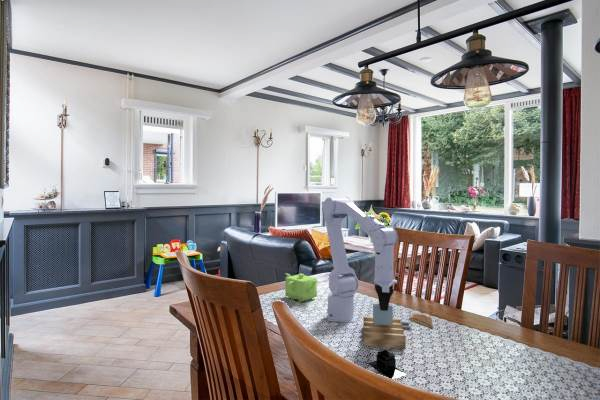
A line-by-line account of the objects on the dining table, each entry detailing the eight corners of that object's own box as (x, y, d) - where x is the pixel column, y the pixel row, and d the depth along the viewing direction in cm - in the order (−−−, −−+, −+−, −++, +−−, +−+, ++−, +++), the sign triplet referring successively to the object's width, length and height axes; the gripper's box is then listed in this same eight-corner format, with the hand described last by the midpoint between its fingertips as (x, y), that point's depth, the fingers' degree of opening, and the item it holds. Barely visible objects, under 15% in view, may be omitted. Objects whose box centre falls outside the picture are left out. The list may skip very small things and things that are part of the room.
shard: (432, 331, 120) (433, 325, 120) (409, 328, 122) (409, 323, 122) (431, 320, 130) (431, 315, 130) (409, 317, 133) (409, 312, 133)
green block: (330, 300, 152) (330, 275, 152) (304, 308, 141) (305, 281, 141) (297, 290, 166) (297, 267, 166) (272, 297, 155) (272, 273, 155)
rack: (363, 346, 107) (364, 333, 107) (363, 328, 121) (363, 316, 121) (405, 349, 105) (405, 335, 105) (399, 330, 119) (400, 318, 119)
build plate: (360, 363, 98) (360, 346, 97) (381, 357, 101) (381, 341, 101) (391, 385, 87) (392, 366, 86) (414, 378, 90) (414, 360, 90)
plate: (373, 324, 113) (372, 305, 112) (373, 322, 114) (372, 303, 114) (392, 325, 112) (392, 306, 112) (392, 323, 113) (392, 304, 113)
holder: (388, 329, 120) (389, 326, 120) (387, 323, 125) (387, 320, 125) (410, 330, 119) (410, 327, 119) (408, 324, 124) (408, 321, 124)
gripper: (400, 271, 105) (399, 317, 105) (394, 262, 119) (394, 302, 119) (375, 270, 106) (374, 316, 106) (373, 261, 120) (372, 301, 120)
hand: (383, 308), depth 113 cm, fingers closed on plate, 2 cm apart
